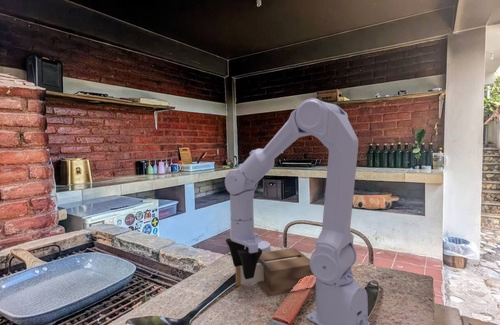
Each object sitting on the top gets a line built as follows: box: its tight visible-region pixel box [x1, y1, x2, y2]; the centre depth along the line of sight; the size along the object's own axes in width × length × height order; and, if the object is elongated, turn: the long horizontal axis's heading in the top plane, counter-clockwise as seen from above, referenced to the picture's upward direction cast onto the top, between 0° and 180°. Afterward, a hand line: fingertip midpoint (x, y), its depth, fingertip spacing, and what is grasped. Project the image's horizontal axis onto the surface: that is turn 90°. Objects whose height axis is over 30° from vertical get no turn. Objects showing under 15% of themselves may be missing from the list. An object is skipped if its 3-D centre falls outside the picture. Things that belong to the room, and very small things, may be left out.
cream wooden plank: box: [234, 257, 297, 286], centre depth 73 cm, size 17×1×4 cm, turn 108°
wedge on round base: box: [227, 236, 271, 253], centre depth 95 cm, size 9×7×13 cm
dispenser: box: [256, 247, 316, 298], centre depth 74 cm, size 13×12×7 cm
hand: (243, 271), depth 71 cm, fingers open, 7 cm apart
